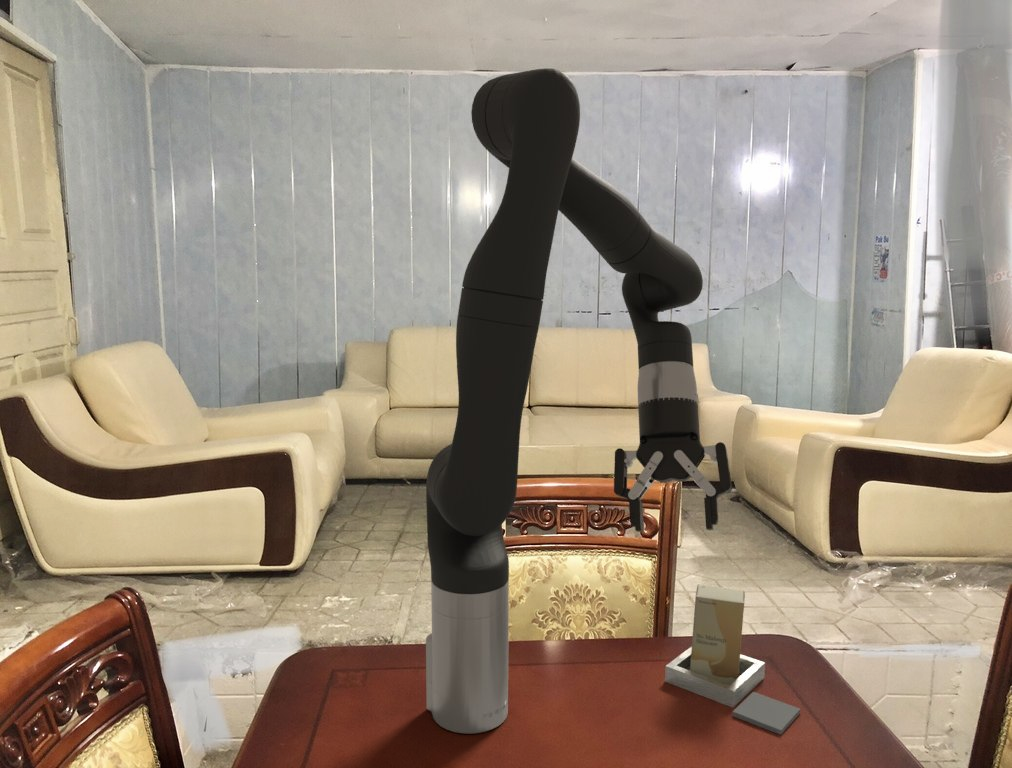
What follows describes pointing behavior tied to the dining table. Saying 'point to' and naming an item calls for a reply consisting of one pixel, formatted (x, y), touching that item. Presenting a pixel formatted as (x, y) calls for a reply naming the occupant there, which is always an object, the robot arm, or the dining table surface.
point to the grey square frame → (711, 688)
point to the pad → (766, 712)
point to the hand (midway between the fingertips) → (674, 530)
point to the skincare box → (717, 632)
